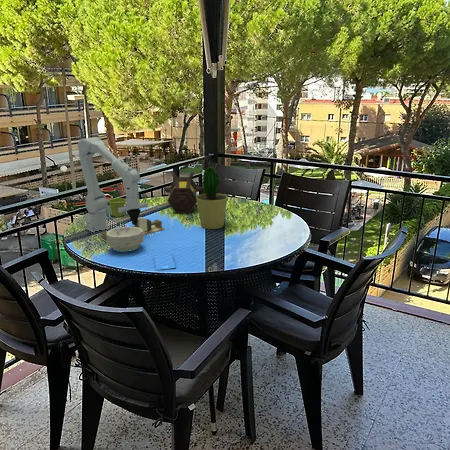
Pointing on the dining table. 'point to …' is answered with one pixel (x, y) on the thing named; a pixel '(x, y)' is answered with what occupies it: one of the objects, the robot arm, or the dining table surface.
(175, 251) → the dining table surface
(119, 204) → the plant pot
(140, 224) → the pale sage cube
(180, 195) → the lantern
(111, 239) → the paper bowls
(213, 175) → the potted cactus
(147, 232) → the pipe stand
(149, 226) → the bracket
